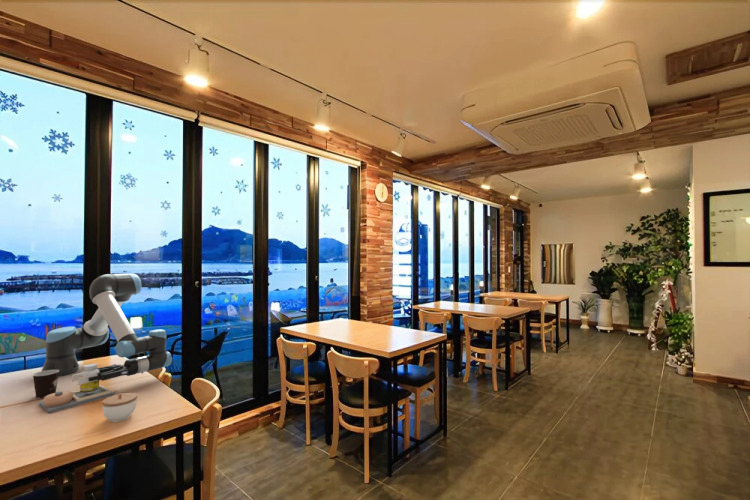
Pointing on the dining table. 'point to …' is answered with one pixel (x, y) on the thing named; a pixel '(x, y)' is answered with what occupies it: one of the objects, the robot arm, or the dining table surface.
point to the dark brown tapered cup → (45, 382)
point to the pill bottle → (90, 386)
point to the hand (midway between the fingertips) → (75, 379)
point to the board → (73, 403)
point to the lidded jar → (119, 406)
